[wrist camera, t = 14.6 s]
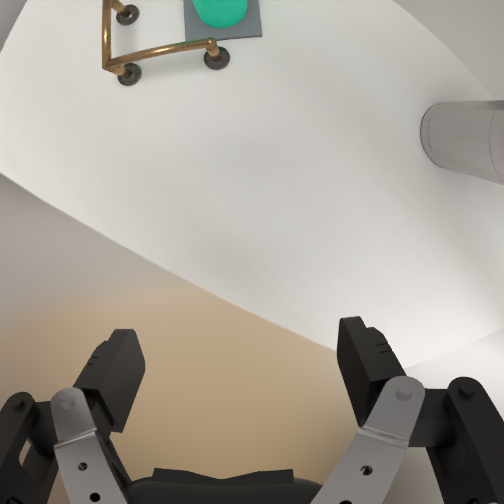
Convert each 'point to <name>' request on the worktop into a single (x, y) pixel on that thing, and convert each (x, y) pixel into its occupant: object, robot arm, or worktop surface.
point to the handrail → (132, 72)
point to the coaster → (242, 29)
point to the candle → (221, 12)
